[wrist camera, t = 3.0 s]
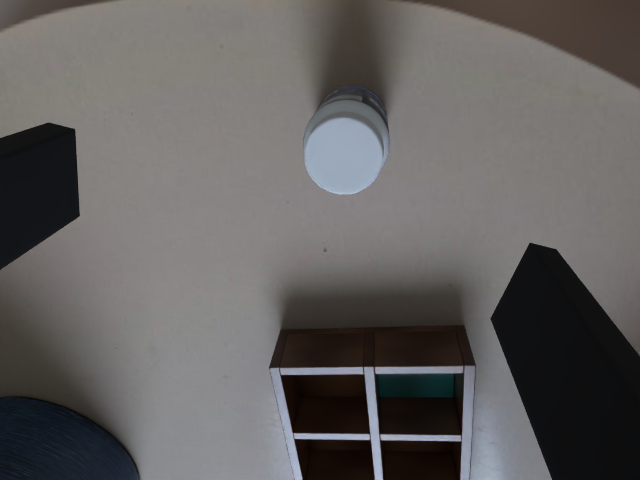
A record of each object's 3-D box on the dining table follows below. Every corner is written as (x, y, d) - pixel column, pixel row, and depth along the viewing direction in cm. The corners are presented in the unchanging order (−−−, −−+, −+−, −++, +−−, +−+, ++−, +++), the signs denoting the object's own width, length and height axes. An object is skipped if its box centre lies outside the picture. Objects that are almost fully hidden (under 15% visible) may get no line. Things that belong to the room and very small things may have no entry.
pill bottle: (392, 149, 29) (398, 193, 22) (325, 162, 30) (309, 209, 23) (380, 76, 27) (382, 99, 20) (308, 93, 28) (285, 120, 21)
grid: (464, 325, 35) (475, 365, 31) (458, 499, 45) (466, 546, 41) (280, 329, 38) (268, 367, 34) (313, 494, 48) (307, 538, 44)
